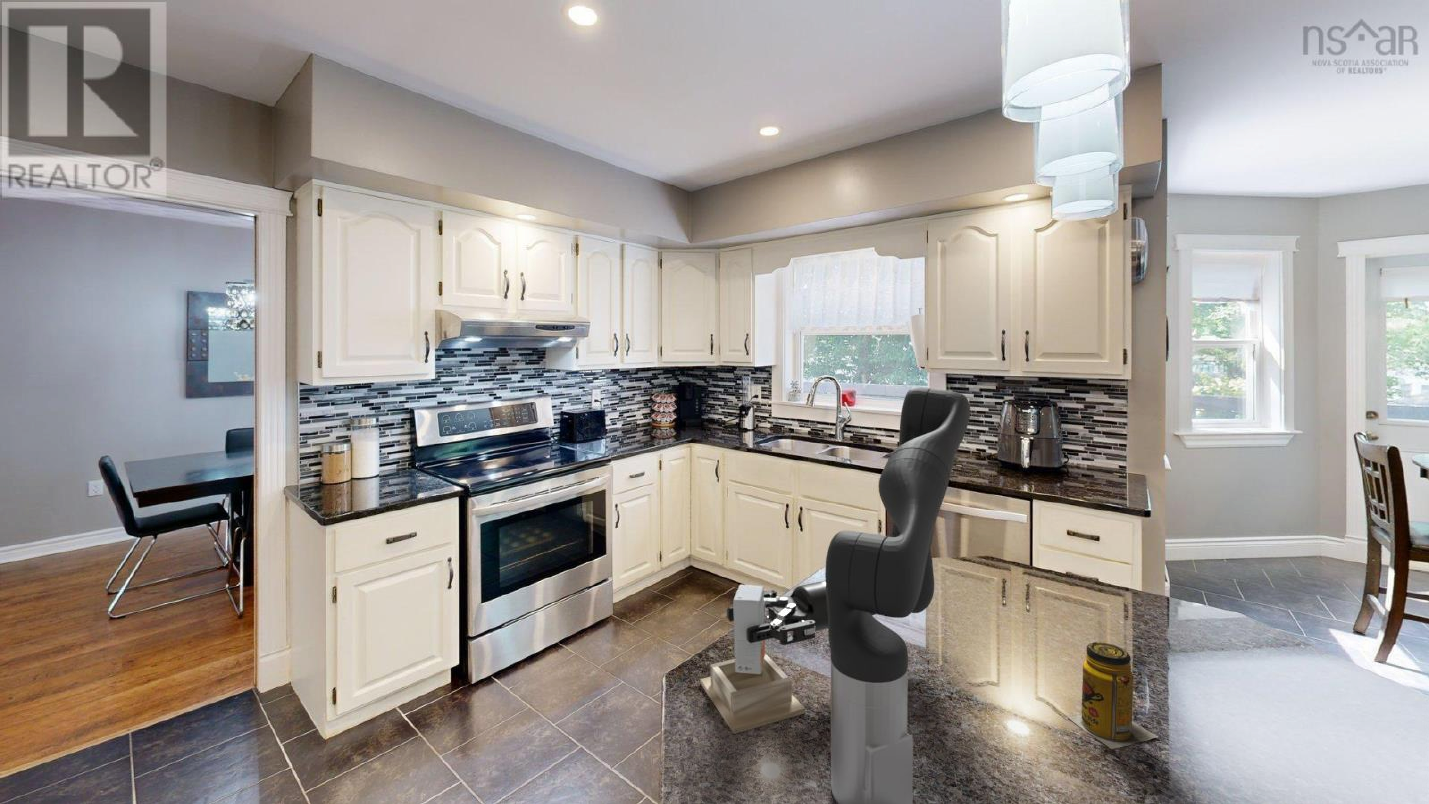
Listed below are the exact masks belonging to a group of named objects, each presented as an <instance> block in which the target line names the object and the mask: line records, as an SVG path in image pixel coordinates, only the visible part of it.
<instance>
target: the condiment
mask: <svg viewBox="0 0 1429 804" xmlns="http://www.w3.org/2000/svg"><path fill="white" fill-rule="evenodd" d="M1131 660H1132V657H1131V656H1130V654H1129V652H1128V651H1127V650H1125V649H1124V648H1122V647H1120V646H1118V645H1115V644H1112V643H1107V642H1102V641H1094V642H1091V643H1088V645H1087V646H1086V654H1085V661H1083V664H1082V687H1081V714H1077V715H1073V716H1067V719H1069V720H1070V721H1072V722H1073V723H1074V724H1076V725H1077V726H1078V727H1080V728H1081V729H1083V731H1085V732H1086V733H1088V734H1089V735H1091V736H1092V737H1093V738H1095V739H1096V740H1097V741H1099V742H1102V744H1103V745H1106V746H1107V747H1108V748H1109V749H1110V750H1112V749H1113V750H1114V749H1119V748H1123V747H1129V746H1130V745H1135V744H1138V743H1140V742H1146V741H1149V740H1152V739H1155V738H1156V739H1157V738H1159V736H1158V735H1156V734H1155V733H1153V732H1151V731H1149V730H1147V729H1146V728H1144V727H1143V726H1140V725H1139V724H1138V723H1136V722H1135V721H1133V706H1134V703H1133V702H1134V678H1135V677H1134V674H1133V673H1132V665H1131Z"/></svg>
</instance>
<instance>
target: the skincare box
mask: <svg viewBox="0 0 1429 804" xmlns="http://www.w3.org/2000/svg"><path fill="white" fill-rule="evenodd" d="M764 591H765V588H764V585H750V584H739V585H738V588H737V590H736V591H735V595H734V598H733V601H732V602H733V603H732V605H733V612H734V621H733V635H734V636H733V638H734V641H733V642H734V644H733V645H734V647H733V648H734V659H735V672H739V673H751V674H761V670H762V665H763V661H764V657H765V653H766V643H765V642H766V640H763V641H759V642H754V643H749V642H748V641H747V636H746V630H747V628H749V627H753V626H757V625H761V624H765V620H764Z"/></svg>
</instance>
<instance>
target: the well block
mask: <svg viewBox="0 0 1429 804" xmlns="http://www.w3.org/2000/svg"><path fill="white" fill-rule="evenodd" d="M709 667H710V668H709V669H710V671H709V672H710V674H709V676H708V677H703V678H700V683H699V684H700V685H701V687H702V688H703V690H704V691H705V693H706V694H707V696H708V697H709V699H710V700H711V701H712V703H713V705H714V706H715V708H716V709H717V711H718V712H719V714H720V715H721V717H722V718H723V720H724V721H725V723H726V725H727V726H728V727H729V729H730V730H731V732H732V733H733V734H734V735H736V734H739V733H742V732H746V731H749V730H753V729H755V728H760V727H763V726H765V725H770V724H773V723H777V722H781V721H783V720H787V719H790V718H793V717H797V716H800V715H804V714H805V713H806V711H805V710H806V708H805V707H804V706H803V705H802V704H801V703H800V701H799V700H798V699H797V698H796V697H795V696H794V695H793V694H792V693H793V692H792V689H793V688H792V686H793V683H792V681H793V680H792V679H791V678H790V677H789V676H788V675H787V674H786V673H785V672H784V671H783V670H782V669H781V667H779V666H778V665H777V664H776V663H775V662H774V660H773V659H772V658H770V656H769V655H768V654H767V653H766V652H765V657H764V661H763V665H762V670H761V674H751V673H739V672H735V658H732V659H728V660H727V659H726V660H723V661H720V662H716V663H712V664H710V665H709Z"/></svg>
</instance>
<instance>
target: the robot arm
mask: <svg viewBox="0 0 1429 804" xmlns="http://www.w3.org/2000/svg"><path fill="white" fill-rule="evenodd" d="M901 407H902V408H901V414H900V419H899V420H900V423H899V434H898V435H899V436H898V437H899V438H898V439H899V441H898V447H897V448H895V450H893V452H892V453H891V454H890V455H889V458H888V459H887V462H886V463H885V465H884V468H883V469H882V472H881V474H880V477H879V480H878V493H879V497H880V501H881V502H882V505H883V507H884V509H885V510H886V512H887V513H888V516H889V517H890V518H891V520H892V521H893V522H892V527H891V533H890V536H888V535H882V534H873V533H868V532H862V531H861V532H860V531H855V530H854V531H853V530H841V531H838V532H837V533H835V535H834V536H833V537H832V539H831V540H830V543H829V545H828V547H827V552H826V558H825V575H824V576H825V580H821V581H818V582H817V581H816V582H813V583H812V582H811V583H808V584H802V585H799V586H797V587H795V588H794V589H793V592H792V593H791V594H790V595H789V596H779V595H778V592H777V590H776V589H769V590H764V621H771V622H770V623H768V622H767V623H764V624H761V625H757V626H753V627H749V628H747V630H746V636H747V641H748V642H749V643H754V642H759V641H763V640H765V641H766V640H772V641H779V644H780V645H782V646H786V645H791V644H795V643H799V642H805V641H808V640H811V639H812V640H813V639H815V638H816V632H819V631H824V630H827V632H828V642H829V643H828V645H829V648H830V764H831V765H830V768H831V769H830V777H831V778H830V781H831V782H830V783H831V784H830V785H831V787H830V788H831V792H832V793H831V794H832V796H833V798H834V801H835V802H836V803H837V804H913V802H914V801H913V798H914V797H913V788H914V787H913V784H914V783H913V782H914V781H913V780H914V779H913V777H914V773H913V771H914V770H913V767H914V763H913V762H914V739H913V737H912V735H911V734H910V733H909V732H908V689H909V688H908V683H909V682H908V680H909V679H908V676H909V675H908V674H909V673H908V670H909V669H908V668H909V654H908V653H909V651H908V646H907V645H906V644H907V643H905V641H904V639H903V638H902V637H901V635H899V634H898V633H897V632H895V631H894V630H893V629H891V628H890V627H888V626H887V625H885V624H883V623H881V622H880V621H879V620H878V619H876V618H875V617H874V616H875V615H878V616H883V617H887V618H895V619H899V618H900V619H903V618H907V617H909V615H911V614H920V613H922V612H924V611H925V610H926V609H927V608H928V607H929V605H930V604H931V602H932V599H933V598H934V592H935V574H934V565H933V564H934V563H933V557H932V556H933V555H932V544H933V538H934V532H935V526H936V525H935V524H936V522H937V519H938V515H939V512H940V510H941V507H942V504H943V502H944V500H945V499H944V498H945V497H946V492H947V490H948V486H949V482H950V478H951V474H952V469H953V465H954V460H955V457H956V455H957V453H958V450H959V448H960V446H961V443H962V441H963V439H964V436H965V434H966V431H967V428H968V427H969V426H968V425H969V422H970V417H971V406H970V401H969V399H968V397H966V395H964V394H963V393H960V392H958V391H957V392H956V391H954V390H944V389H935V388H929V387H923V386H922V387H921V386H920V387H919V386H913V387H910V389H909V390H908V391H907V392H906V394H905V397H904V399H903V403H902V406H901ZM767 608H768V609H767ZM767 610H768V611H767ZM767 612H768V613H767ZM726 618H727V620H728V621H729V622H734V612H733V606H729V607H727V608H726ZM791 632H792V635H790V636H788V635H789V634H790V633H791Z"/></svg>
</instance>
